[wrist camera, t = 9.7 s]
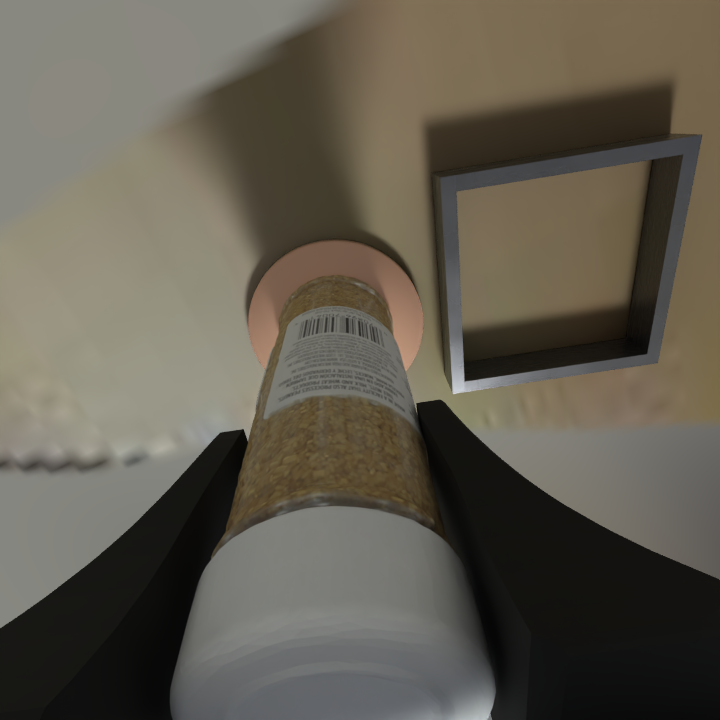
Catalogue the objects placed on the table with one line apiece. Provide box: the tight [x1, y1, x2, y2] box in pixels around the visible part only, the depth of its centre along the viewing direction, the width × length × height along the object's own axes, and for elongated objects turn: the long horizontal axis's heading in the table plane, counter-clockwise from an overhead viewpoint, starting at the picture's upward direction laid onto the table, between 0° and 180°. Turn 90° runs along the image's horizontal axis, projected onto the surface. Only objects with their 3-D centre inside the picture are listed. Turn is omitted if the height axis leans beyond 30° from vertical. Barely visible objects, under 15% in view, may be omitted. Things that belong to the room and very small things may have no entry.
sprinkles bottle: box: [170, 275, 496, 720], centre depth 12 cm, size 5×5×13 cm
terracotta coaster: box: [248, 239, 423, 371], centre depth 18 cm, size 7×7×1 cm
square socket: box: [432, 134, 702, 394], centre depth 17 cm, size 8×8×2 cm
